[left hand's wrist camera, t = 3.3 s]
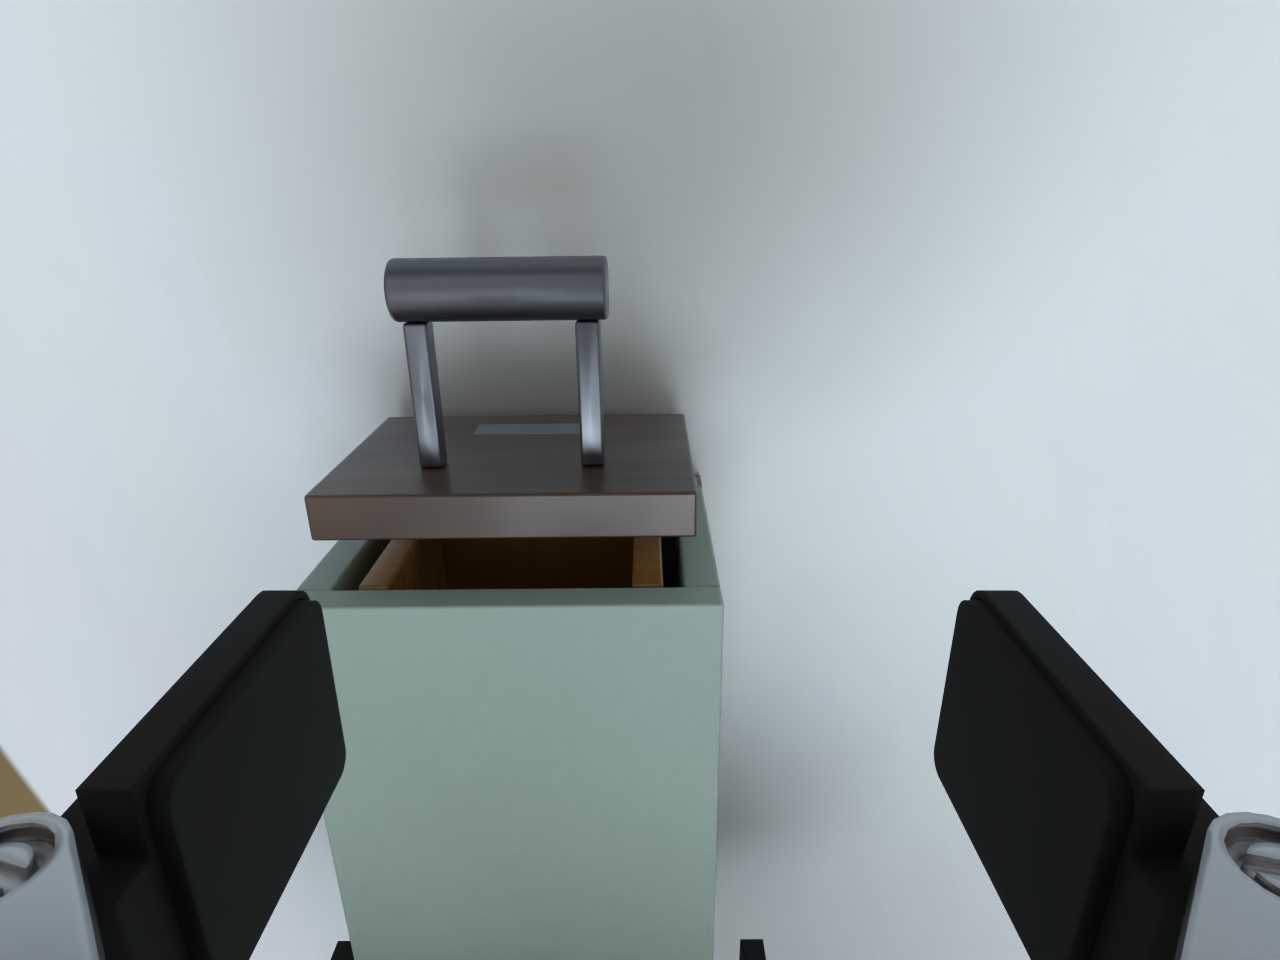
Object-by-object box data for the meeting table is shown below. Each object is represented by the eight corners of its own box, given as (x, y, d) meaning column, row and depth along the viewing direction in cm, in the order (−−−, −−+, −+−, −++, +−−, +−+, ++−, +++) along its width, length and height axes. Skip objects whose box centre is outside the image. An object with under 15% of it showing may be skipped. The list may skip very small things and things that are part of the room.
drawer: (364, 244, 23) (260, 269, 16) (685, 240, 23) (701, 263, 16) (448, 855, 31) (400, 1021, 25) (680, 853, 31) (689, 1019, 25)
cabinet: (388, 479, 26) (278, 608, 18) (700, 475, 26) (724, 604, 18) (448, 901, 34) (387, 1126, 26) (693, 900, 33) (708, 1125, 26)
